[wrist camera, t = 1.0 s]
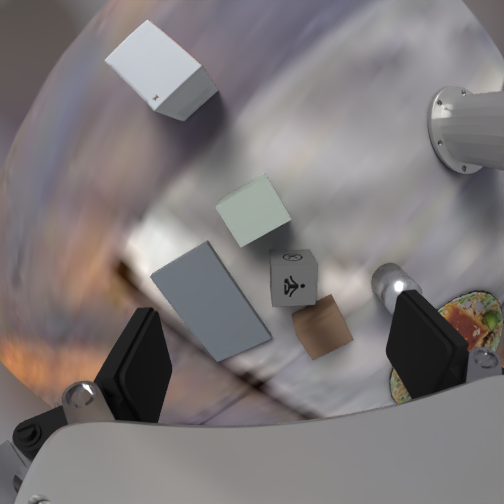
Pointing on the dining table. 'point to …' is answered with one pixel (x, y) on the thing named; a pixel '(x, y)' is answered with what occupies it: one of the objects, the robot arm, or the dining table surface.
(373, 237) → the dining table surface
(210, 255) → the slate mat
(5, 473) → the robot arm
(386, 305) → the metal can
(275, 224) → the sage block
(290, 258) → the dice cube
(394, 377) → the rice dish
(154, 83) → the small box
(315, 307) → the walnut block
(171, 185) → the dining table surface
